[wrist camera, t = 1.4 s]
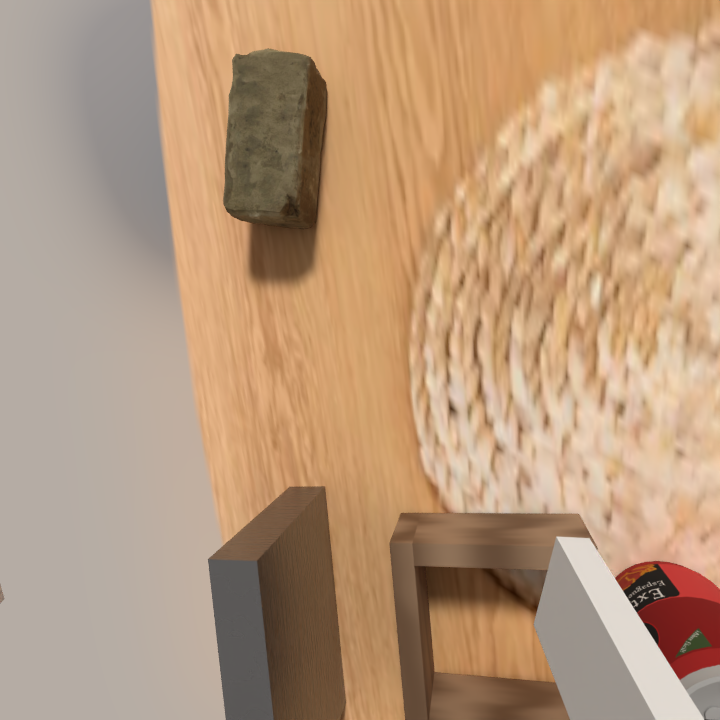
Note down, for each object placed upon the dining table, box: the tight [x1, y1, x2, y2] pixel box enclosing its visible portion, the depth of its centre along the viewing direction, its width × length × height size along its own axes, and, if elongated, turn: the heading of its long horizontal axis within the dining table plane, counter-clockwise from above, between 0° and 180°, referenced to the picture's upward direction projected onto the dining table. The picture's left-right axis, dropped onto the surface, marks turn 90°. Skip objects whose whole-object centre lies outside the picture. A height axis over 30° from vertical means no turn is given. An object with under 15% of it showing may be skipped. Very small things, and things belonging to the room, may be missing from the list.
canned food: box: [615, 561, 720, 720], centre depth 27 cm, size 8×8×11 cm
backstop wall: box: [208, 487, 346, 720], centre depth 32 cm, size 3×18×12 cm, turn 5°
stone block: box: [223, 49, 327, 229], centre depth 34 cm, size 6×12×5 cm, turn 176°
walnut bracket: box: [390, 513, 597, 720], centre depth 32 cm, size 12×14×5 cm
